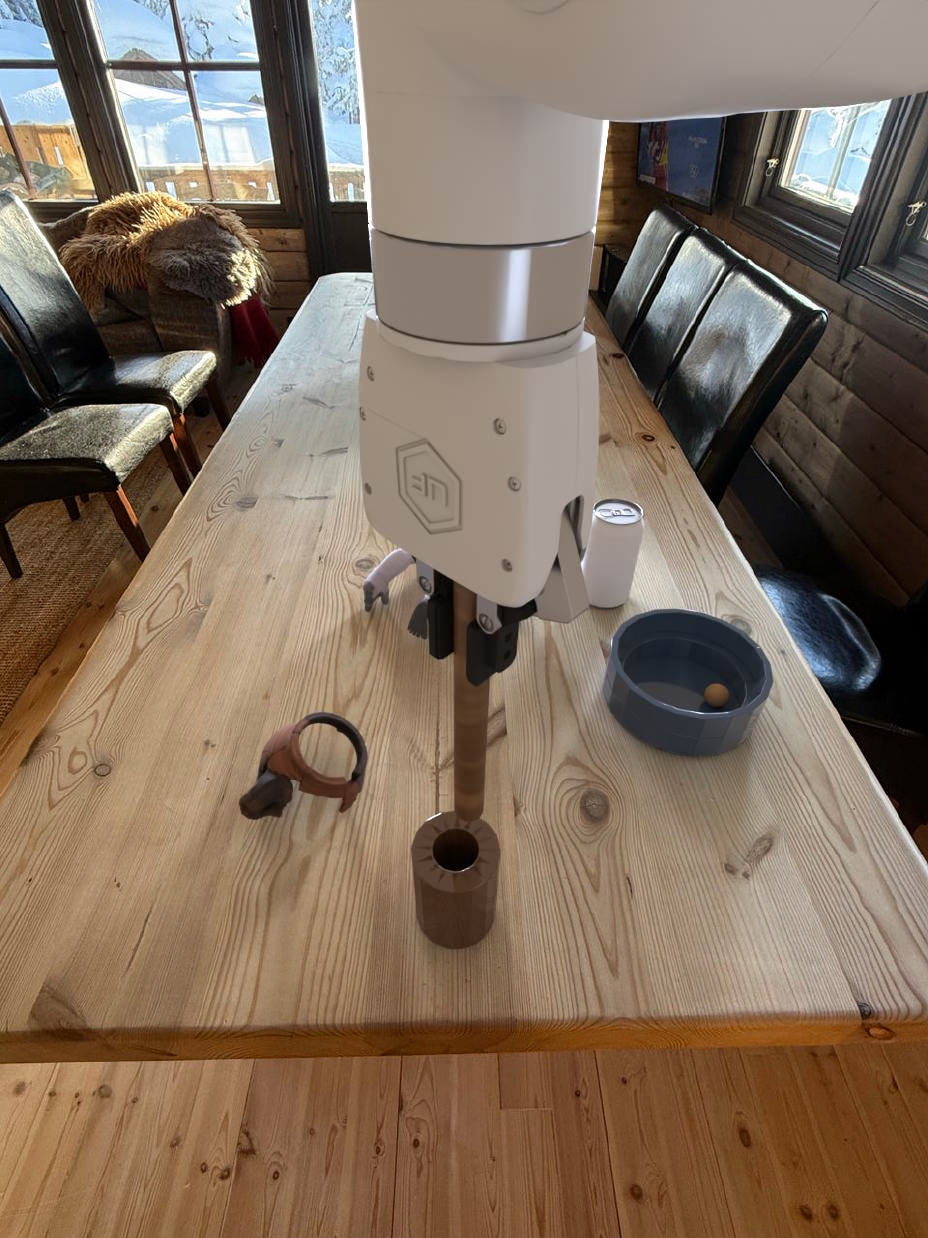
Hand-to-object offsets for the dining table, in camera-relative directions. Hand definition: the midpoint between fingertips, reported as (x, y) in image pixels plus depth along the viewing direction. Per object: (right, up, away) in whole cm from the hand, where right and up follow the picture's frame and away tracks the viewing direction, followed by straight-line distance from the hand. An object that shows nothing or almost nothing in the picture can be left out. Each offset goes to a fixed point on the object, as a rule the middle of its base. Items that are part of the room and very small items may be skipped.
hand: (472, 655), depth 35 cm
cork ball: (+25, -6, +32) cm, 41 cm away
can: (+17, +5, +47) cm, 50 cm away
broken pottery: (-15, -14, +25) cm, 32 cm away
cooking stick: (0, -11, +10) cm, 15 cm away
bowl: (+22, -6, +34) cm, 41 cm away
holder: (-1, -21, +17) cm, 27 cm away
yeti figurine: (-2, +5, +47) cm, 48 cm away
